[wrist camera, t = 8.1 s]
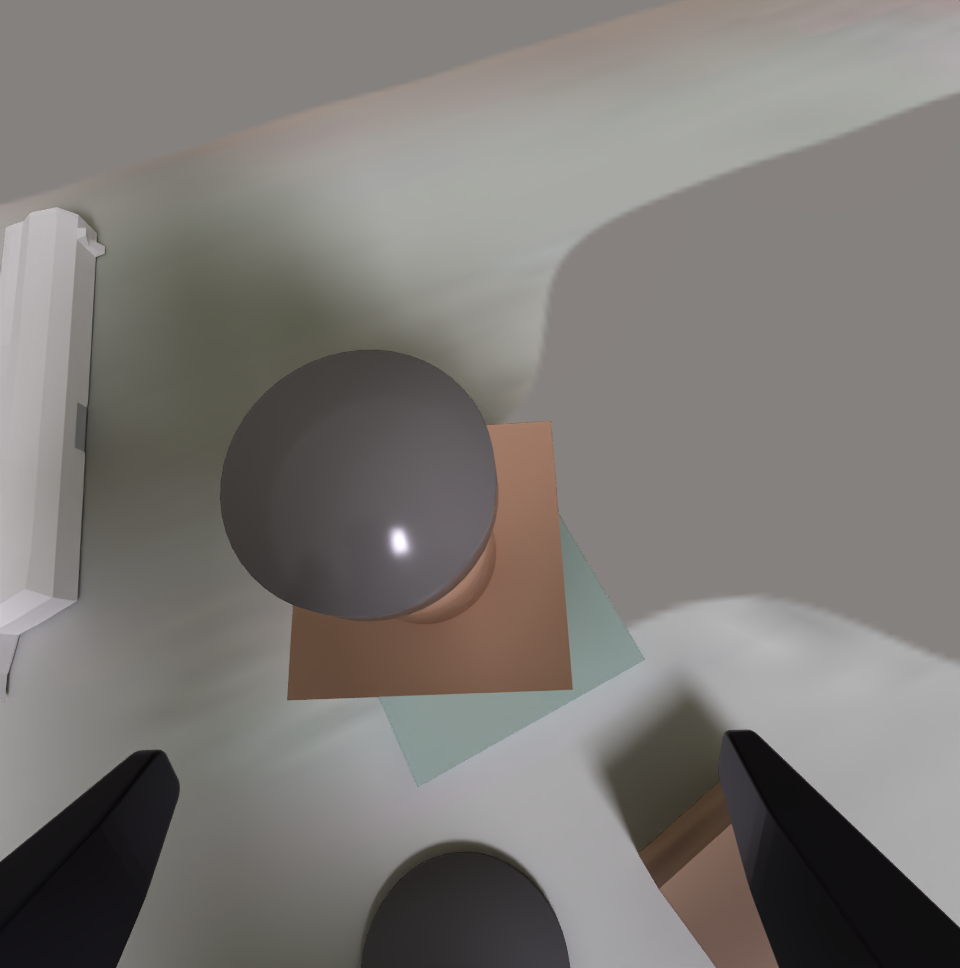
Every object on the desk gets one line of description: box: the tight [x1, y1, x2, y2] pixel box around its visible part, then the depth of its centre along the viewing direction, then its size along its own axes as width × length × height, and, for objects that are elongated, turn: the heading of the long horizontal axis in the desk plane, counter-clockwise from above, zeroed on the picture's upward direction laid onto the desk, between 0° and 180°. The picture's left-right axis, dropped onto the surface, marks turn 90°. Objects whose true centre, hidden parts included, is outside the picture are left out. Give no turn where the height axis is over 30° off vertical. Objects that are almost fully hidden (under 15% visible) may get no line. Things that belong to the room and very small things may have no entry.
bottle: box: [220, 350, 573, 700], centre depth 12 cm, size 5×5×14 cm
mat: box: [379, 515, 645, 787], centre depth 19 cm, size 8×8×1 cm
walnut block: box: [638, 782, 779, 968], centre depth 16 cm, size 4×4×3 cm
